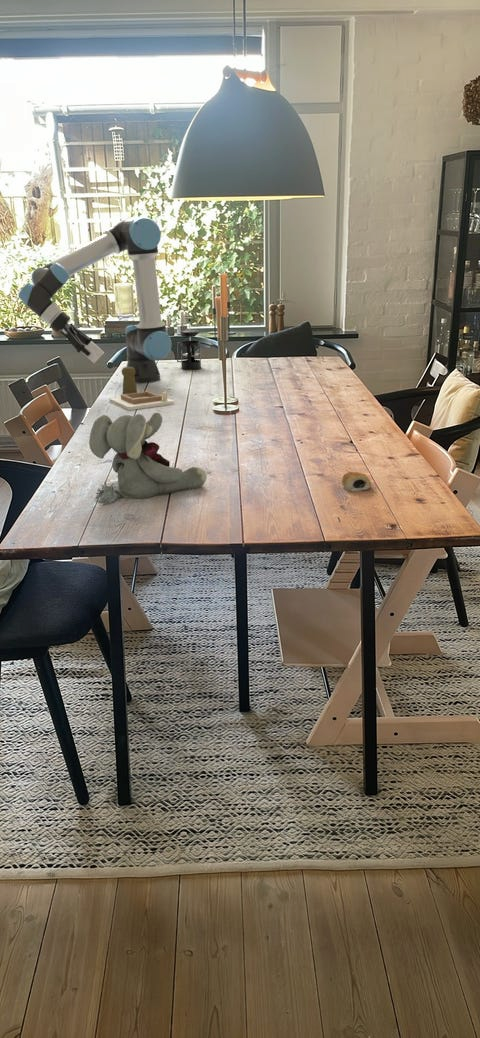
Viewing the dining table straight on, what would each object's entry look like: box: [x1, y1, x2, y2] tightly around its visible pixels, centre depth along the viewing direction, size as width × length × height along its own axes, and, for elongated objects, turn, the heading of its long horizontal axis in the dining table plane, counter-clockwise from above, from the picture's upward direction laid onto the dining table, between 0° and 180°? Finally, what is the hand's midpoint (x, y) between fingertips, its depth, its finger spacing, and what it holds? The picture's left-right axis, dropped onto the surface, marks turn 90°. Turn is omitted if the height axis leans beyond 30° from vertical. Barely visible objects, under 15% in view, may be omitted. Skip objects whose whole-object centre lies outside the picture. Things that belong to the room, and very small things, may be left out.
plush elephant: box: [88, 412, 208, 506], centre depth 185 cm, size 27×22×21 cm
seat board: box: [108, 390, 175, 411], centre depth 284 cm, size 18×18×4 cm
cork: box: [121, 366, 138, 394], centre depth 296 cm, size 6×6×11 cm
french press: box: [175, 316, 202, 371], centre depth 350 cm, size 12×9×23 cm
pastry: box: [341, 471, 372, 492], centre depth 189 cm, size 9×7×4 cm
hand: (99, 358), depth 292 cm, fingers open, 13 cm apart
